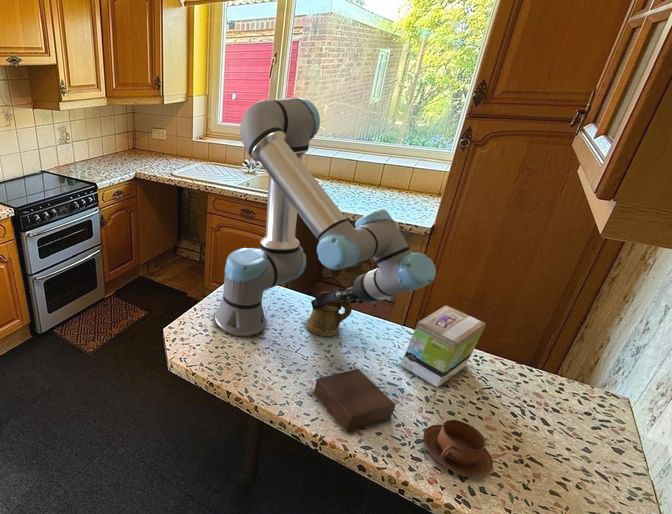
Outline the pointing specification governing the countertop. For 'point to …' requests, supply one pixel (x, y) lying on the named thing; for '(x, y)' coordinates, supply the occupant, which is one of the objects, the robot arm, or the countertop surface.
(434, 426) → the cup and saucer
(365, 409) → the walnut block
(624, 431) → the countertop surface
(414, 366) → the tea box
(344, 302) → the wooden mug
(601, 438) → the countertop surface
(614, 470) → the countertop surface
